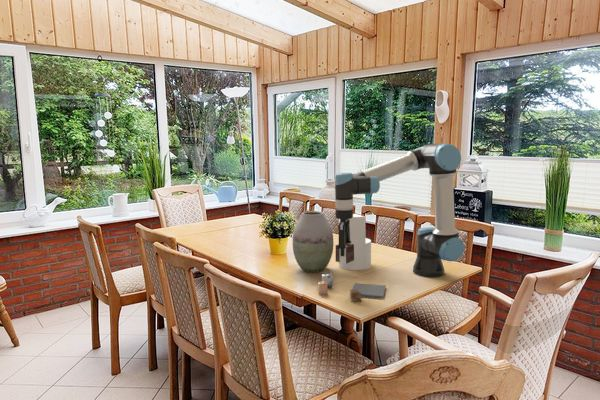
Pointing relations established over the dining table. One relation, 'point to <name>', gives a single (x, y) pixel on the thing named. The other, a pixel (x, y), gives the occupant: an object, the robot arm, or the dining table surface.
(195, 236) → the dining table surface
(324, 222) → the vase
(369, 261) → the cylinder
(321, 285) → the peach rounded capsule
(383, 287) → the slate board
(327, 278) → the metal-capped glass jar
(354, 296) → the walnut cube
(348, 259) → the box
